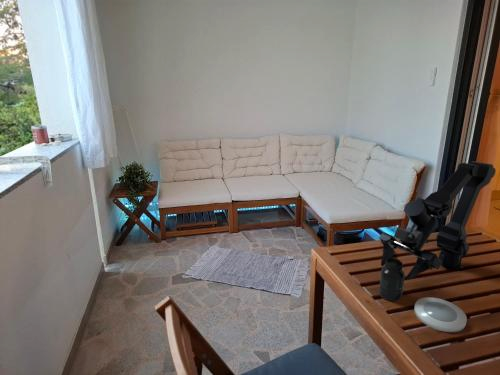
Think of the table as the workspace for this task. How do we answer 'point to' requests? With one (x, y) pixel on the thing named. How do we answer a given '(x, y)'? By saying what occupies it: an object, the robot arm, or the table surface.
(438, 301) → the saucer
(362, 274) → the table surface
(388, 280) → the supplement bottle
